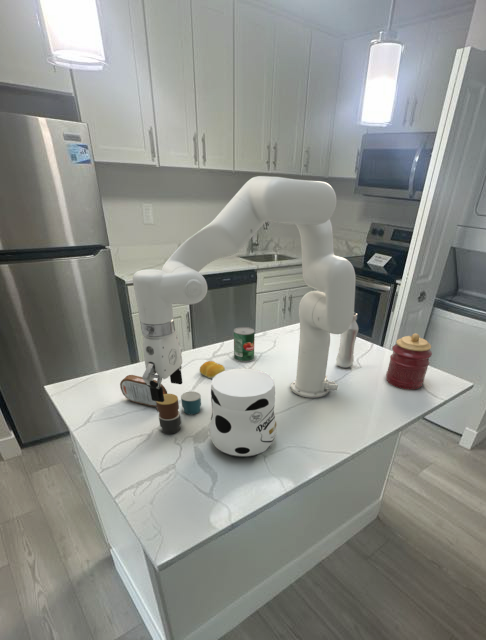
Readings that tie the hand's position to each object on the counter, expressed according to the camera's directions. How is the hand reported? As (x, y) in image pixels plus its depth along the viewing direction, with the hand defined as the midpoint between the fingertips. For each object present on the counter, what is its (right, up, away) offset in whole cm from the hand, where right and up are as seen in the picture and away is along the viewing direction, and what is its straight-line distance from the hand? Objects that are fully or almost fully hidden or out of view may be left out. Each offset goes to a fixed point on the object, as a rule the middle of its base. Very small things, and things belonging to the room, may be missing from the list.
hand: (167, 391), depth 97 cm
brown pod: (-1, -6, +4) cm, 7 cm away
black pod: (-1, -10, +6) cm, 12 cm away
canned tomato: (+16, +18, +49) cm, 54 cm away
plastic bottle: (+54, +14, +46) cm, 72 cm away
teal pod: (+3, -4, +15) cm, 16 cm away
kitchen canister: (+74, +7, +37) cm, 83 cm away
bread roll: (+6, +10, +36) cm, 38 cm away
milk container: (+19, -13, +2) cm, 24 cm away
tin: (-12, -2, +17) cm, 21 cm away
